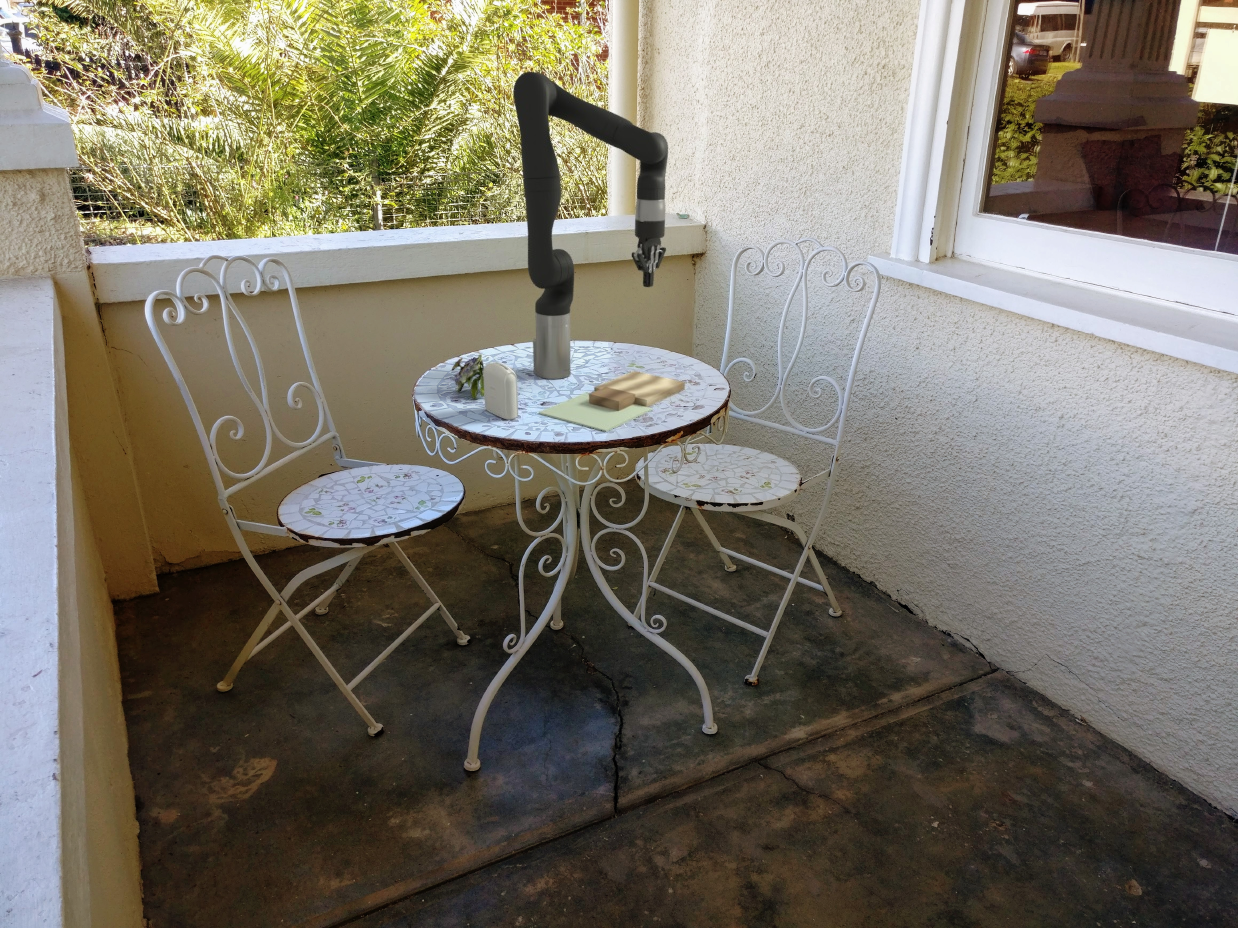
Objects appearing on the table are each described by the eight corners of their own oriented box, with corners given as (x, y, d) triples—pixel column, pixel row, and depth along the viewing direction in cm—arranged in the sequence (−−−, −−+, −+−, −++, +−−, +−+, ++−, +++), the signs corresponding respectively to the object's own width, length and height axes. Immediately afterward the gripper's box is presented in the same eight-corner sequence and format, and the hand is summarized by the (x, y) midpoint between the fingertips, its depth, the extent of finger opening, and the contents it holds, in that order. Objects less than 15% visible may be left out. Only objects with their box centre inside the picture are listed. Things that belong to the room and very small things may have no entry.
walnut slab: (589, 403, 218) (589, 393, 217) (605, 396, 223) (605, 386, 222) (618, 411, 213) (618, 401, 212) (635, 403, 218) (635, 394, 217)
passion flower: (461, 412, 227) (448, 369, 229) (502, 401, 229) (489, 358, 231) (460, 400, 216) (447, 355, 218) (503, 389, 218) (489, 344, 220)
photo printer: (482, 409, 213) (480, 360, 208) (497, 406, 216) (495, 357, 211) (505, 421, 206) (503, 370, 201) (520, 418, 208) (519, 367, 204)
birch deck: (594, 394, 225) (594, 387, 224) (633, 378, 239) (634, 370, 238) (646, 407, 217) (646, 400, 216) (684, 389, 230) (685, 382, 229)
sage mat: (538, 413, 211) (538, 412, 211) (586, 393, 226) (586, 392, 226) (606, 432, 201) (606, 430, 201) (652, 409, 215) (652, 408, 215)
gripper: (652, 213, 228) (650, 280, 235) (622, 219, 218) (621, 289, 225) (676, 216, 224) (673, 284, 231) (648, 221, 214) (645, 293, 221)
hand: (648, 286), depth 228 cm, fingers closed
